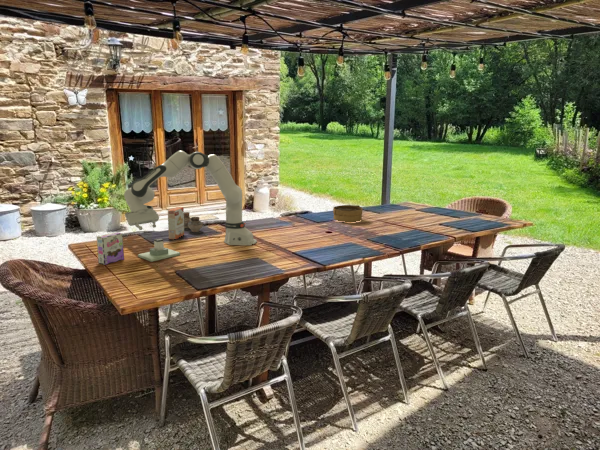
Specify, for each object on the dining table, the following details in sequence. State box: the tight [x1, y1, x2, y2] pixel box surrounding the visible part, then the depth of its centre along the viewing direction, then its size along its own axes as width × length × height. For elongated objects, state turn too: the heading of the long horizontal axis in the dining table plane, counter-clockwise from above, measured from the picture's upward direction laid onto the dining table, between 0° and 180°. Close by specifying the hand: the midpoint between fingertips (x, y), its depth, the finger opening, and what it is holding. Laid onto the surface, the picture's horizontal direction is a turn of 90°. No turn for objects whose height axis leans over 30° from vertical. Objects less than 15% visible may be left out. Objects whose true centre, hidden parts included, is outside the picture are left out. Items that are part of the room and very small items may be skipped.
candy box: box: [96, 231, 125, 266], centre depth 276 cm, size 14×6×16 cm, turn 148°
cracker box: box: [167, 206, 185, 240], centre depth 333 cm, size 14×6×21 cm, turn 168°
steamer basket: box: [332, 204, 363, 222], centre depth 398 cm, size 25×25×11 cm
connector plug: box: [153, 238, 165, 251], centre depth 289 cm, size 4×4×9 cm
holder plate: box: [137, 247, 181, 263], centre depth 289 cm, size 20×15×4 cm
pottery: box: [184, 211, 204, 233], centre depth 358 cm, size 11×25×12 cm, turn 40°
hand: (148, 228), depth 293 cm, fingers open, 8 cm apart
